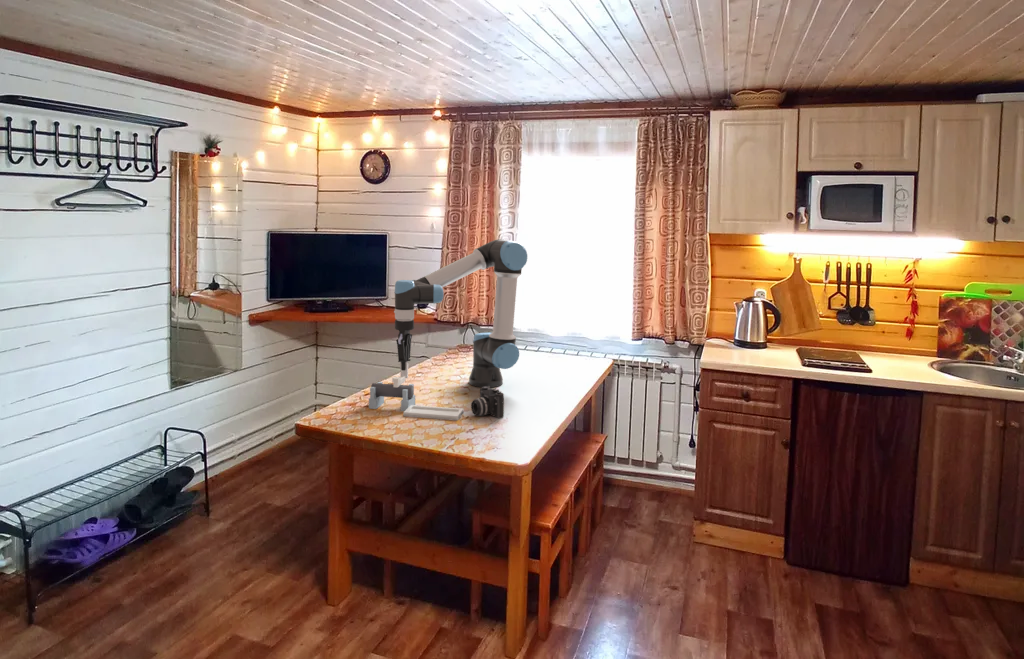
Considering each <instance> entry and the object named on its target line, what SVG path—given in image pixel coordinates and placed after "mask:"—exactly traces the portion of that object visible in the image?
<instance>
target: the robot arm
mask: <svg viewBox="0 0 1024 659" xmlns="http://www.w3.org/2000/svg"><path fill="white" fill-rule="evenodd" d="M527 262H528V253H527V250H526V248H525V246H524V245H523V244H522V243H520V242H518V241H514V240H506V239H494V240H491V241H489V242H487V243H485V244H483V245H481V246H479V247H477V248H474V249H473V252H472V253H470V254H468V255H466V256H464V257H462V258H459V259H458V260H455V261H453V262H451V263H450V264H446V265H445V266H443V267H441V268H438V269H437V270H435V271H433V272H430V273H429V274H427V275H424V276H422V277H420V278H418V279H406V280H405V279H399V280H397V281H396V282H395V283H394V311H393V313H394V319H395V320H394V329H395V330H396V331H399V332H398V335H397V338H396V347H397V348H396V349H397V358H398V361H397V362H398V363H400V377H401V376H405V379H408V378H409V362H411V360H412V359H411V350H412V349H411V348H412V338H413V334H411V331H413V330H414V328H415V321H414V319H415V305H422V304H426V305H427V304H429V305H430V304H433V305H434V304H440V303H442V301H443V300H444V297H445V296H444V295H445V294H444V293H445V292H444V289H443V288H444V287H447V286H448V285H451V284H452V283H455V282H456V281H459V280H460V279H463V278H466V277H467V276H469V275H471V274H473V273H474V272H477V271H479V270H487V269H489V268H493V273H494V274H495V275H496V286H495V299H494V300H495V301H494V312H493V325H492V332H480V333H475V334H474V336H473V341H472V343H473V344H472V345H473V354H472V355H473V357H472V360H473V361H472V362H473V364H472V368H471V372H470V375H469V378H468V384H469V385H471V386H473V387H479V388H482V387H484V386H486V387H488V386H490V388H496V387H499V386H502V385H503V384H504V383H503V381H504V379H503V376H502V371H501V370H508V369H510V368H513V367H514V366H515V365H516V364H517V362H518V360H519V357H520V350H519V348H518V346H517V345H516V341H517V337H516V335H514V324H515V323H514V322H515V310H516V309H515V308H516V297H517V286H518V278H519V277H520V276H521V275H522V269H523V268H524V267H525V266H526V264H527Z"/></svg>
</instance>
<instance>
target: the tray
mask: <svg viewBox="0 0 1024 659" xmlns="http://www.w3.org/2000/svg"><path fill="white" fill-rule="evenodd" d="M402 412H403V417H409V418H422V419H423V418H424V419H435V420H436V419H437V420H446V421H447V420H449V421H459V419H460V418H461V416H463V414H464V408H460V407H458V408H457V407H445V406H442V407H441V406H430V405H417V404H415V405H411V406H409V407H408V408H407V409H406V410H405V411H402Z"/></svg>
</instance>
